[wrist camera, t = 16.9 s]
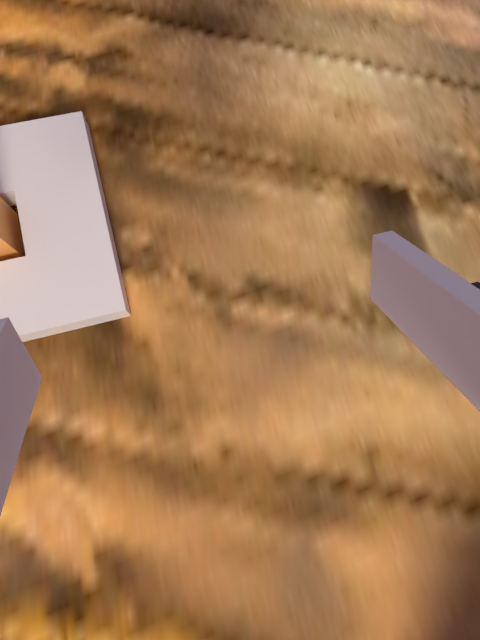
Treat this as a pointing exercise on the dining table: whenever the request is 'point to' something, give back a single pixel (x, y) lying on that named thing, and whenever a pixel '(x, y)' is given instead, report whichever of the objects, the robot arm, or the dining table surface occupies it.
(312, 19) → the dining table surface
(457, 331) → the robot arm
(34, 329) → the socket
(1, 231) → the two-tone grey orange block
